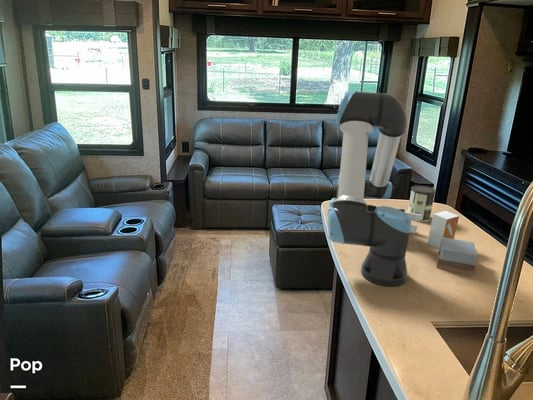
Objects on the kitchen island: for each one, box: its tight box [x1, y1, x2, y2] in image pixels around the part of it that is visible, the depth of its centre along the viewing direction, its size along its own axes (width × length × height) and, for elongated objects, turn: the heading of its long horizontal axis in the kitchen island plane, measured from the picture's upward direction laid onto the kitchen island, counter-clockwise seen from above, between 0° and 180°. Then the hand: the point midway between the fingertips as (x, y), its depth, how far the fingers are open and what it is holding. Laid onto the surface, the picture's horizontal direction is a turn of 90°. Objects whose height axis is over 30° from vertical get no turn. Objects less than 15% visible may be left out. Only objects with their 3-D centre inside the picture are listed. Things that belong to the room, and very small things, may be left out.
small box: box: [426, 210, 460, 250], centre depth 166 cm, size 8×6×13 cm
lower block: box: [435, 248, 476, 277], centre depth 153 cm, size 12×12×4 cm
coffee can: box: [407, 185, 436, 223], centre depth 192 cm, size 10×10×14 cm
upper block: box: [440, 237, 478, 267], centre depth 151 cm, size 11×11×4 cm
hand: (418, 223), depth 169 cm, fingers open, 13 cm apart
